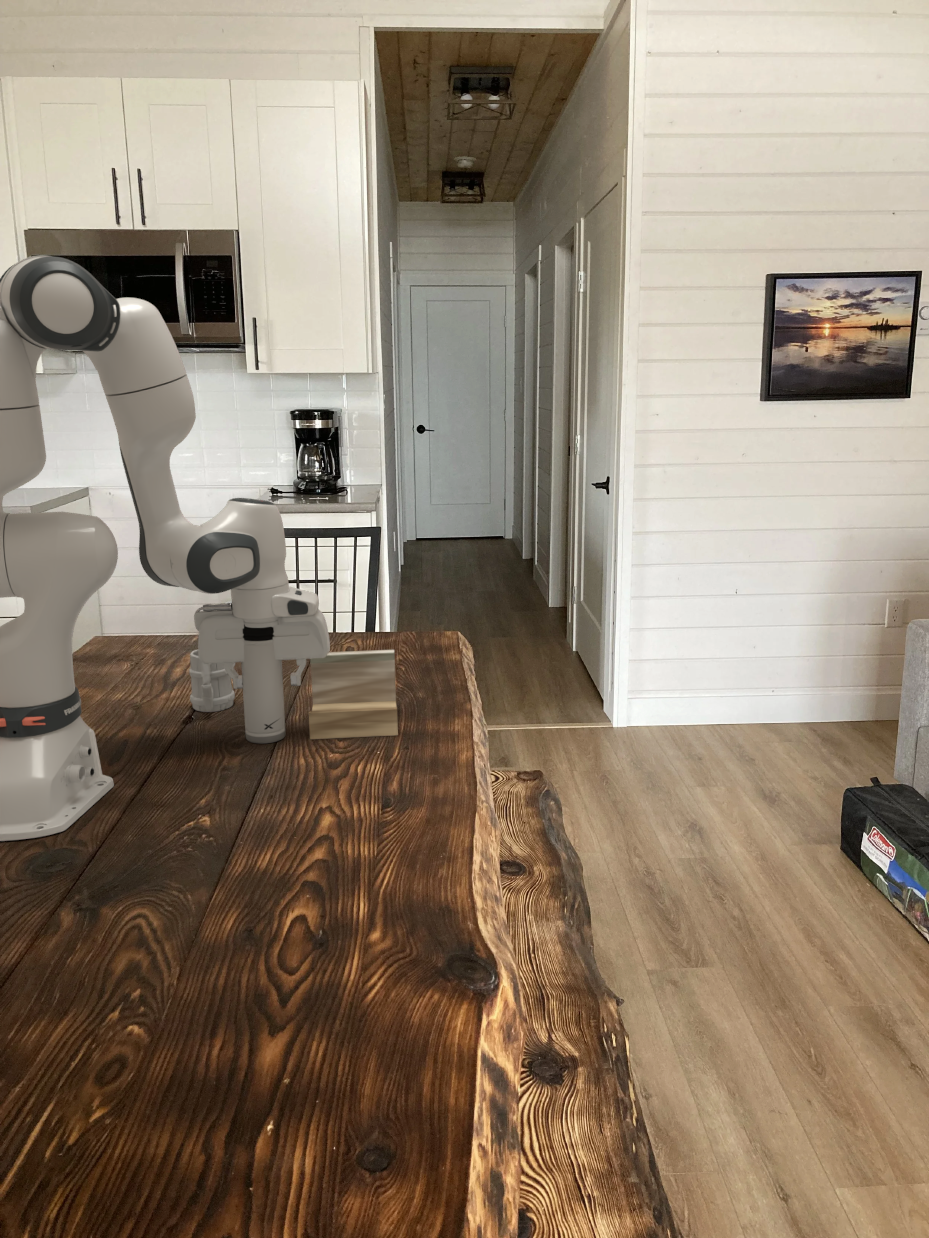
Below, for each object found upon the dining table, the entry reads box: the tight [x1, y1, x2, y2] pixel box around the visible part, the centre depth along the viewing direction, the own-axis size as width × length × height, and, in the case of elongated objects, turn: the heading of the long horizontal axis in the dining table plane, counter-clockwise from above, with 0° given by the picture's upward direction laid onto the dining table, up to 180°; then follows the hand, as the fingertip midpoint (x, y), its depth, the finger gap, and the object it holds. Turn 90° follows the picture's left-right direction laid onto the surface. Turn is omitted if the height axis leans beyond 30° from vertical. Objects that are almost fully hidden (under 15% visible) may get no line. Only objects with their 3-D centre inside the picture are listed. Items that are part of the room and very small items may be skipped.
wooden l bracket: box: [308, 649, 399, 740], centre depth 156 cm, size 12×14×11 cm
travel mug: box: [240, 625, 286, 745], centre depth 150 cm, size 6×7×20 cm
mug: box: [188, 649, 236, 713], centre depth 164 cm, size 8×12×12 cm, turn 9°
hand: (268, 686), depth 150 cm, fingers open, 7 cm apart
